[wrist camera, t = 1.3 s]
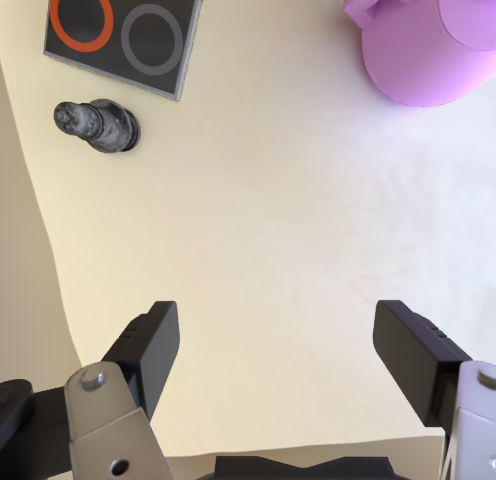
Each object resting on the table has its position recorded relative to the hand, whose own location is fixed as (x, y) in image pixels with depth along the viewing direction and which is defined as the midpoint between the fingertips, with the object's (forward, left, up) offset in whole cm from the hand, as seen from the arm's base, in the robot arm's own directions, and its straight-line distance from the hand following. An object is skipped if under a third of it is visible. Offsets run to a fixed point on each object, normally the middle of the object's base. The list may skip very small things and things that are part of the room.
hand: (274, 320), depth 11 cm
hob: (-20, -22, -28) cm, 40 cm away
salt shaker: (-4, -20, -28) cm, 35 cm away
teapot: (-25, +12, -28) cm, 39 cm away
